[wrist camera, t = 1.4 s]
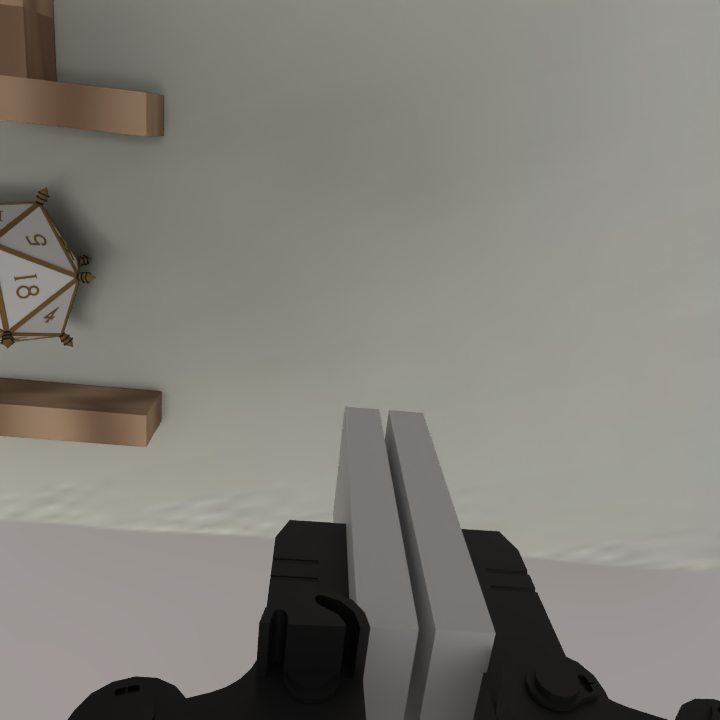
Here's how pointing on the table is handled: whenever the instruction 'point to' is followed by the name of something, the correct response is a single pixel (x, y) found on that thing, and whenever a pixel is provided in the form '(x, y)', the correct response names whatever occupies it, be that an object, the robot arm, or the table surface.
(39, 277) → the game die
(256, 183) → the table surface
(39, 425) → the wooden blocks
